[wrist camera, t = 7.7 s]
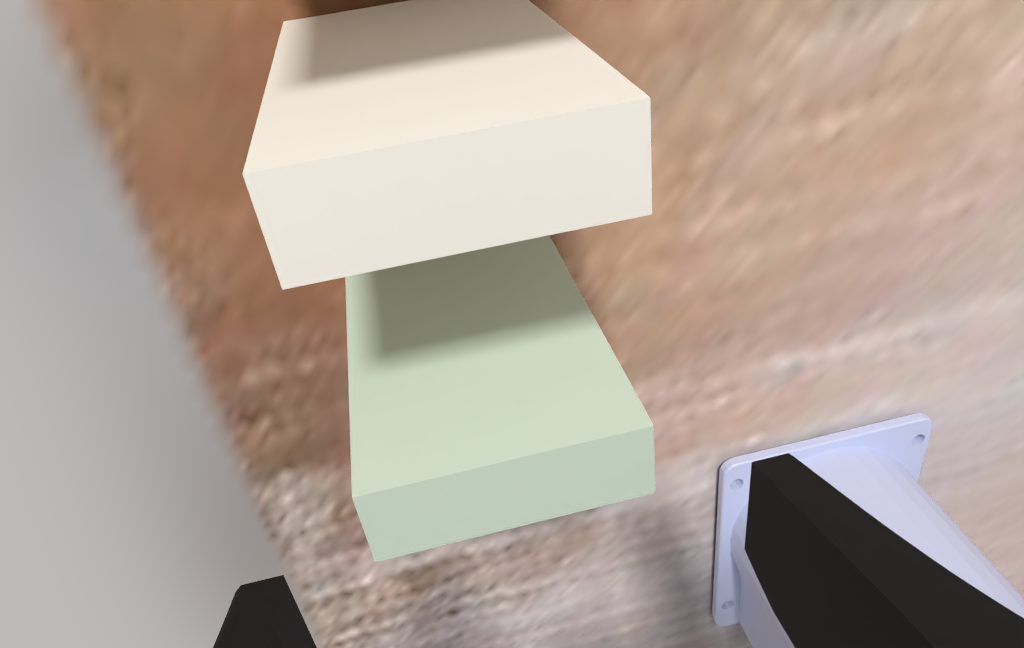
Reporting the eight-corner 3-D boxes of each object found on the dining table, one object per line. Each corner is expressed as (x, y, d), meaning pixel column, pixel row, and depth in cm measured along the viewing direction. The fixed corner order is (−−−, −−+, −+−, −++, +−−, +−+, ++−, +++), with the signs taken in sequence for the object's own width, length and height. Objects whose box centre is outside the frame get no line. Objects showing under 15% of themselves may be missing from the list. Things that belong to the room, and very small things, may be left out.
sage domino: (539, 258, 21) (655, 492, 13) (359, 296, 20) (375, 561, 13) (532, 204, 20) (653, 425, 12) (344, 243, 19) (351, 498, 12)
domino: (516, 56, 18) (652, 214, 10) (303, 94, 17) (282, 289, 10) (508, -17, 17) (650, 96, 9) (283, 21, 16) (242, 173, 9)
